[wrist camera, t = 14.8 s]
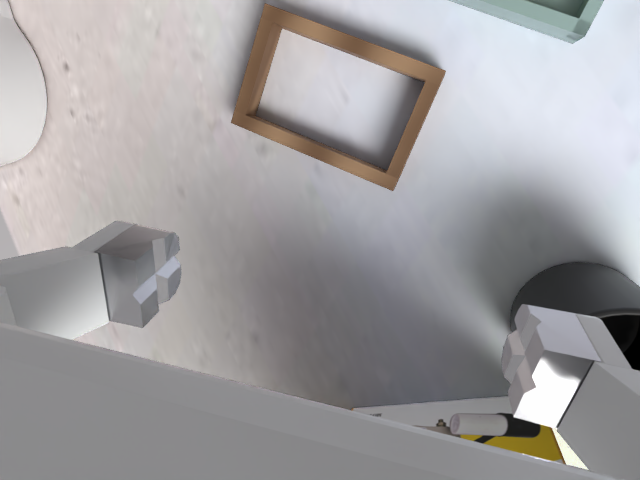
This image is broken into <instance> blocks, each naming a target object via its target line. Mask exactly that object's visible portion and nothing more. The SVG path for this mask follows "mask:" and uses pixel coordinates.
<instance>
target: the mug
mask: <svg viewBox="0 0 640 480" xmlns="http://www.w3.org/2000/svg"><path fill="white" fill-rule="evenodd" d="M522 304H524V305H531V306H537V307H542V308H548V309H553V310H559V311H565V312H570V313H575V314H581V315H588V316H594V317H597V318H599V319H601V320H602V321H603V323H604V325H605V326H606V328H607V329H608V331H609V333H610V334H611V336H612V337H613V339H614V341H615V342H616V344H617V345H618V347H619V349H620V350H621V352H622V353H623V355H624V357H625V358H626V360H627V361H628V363H629V365H630V366H631V368H632V369H634V370H638V371H640V287H639V286H638V285H636V284H635V283H634V282H633V281H631V280H630V279H629V278H627V277H626V276H625V275H623V274H622V273H620V272H618V271H616V270H614V269H612V268H609V267H607V266H603V265H600V264H594V263H585V262H575V263H567V264H562V265H558V266H555V267H552V268H550V269H547V270H545V271H543V272H541V273H540V274H538V275H536V276H535V277H534V278H532V279H531V280H530V281H529V282H528V283H526V285H525V286H524V287H523V288H522V289H521V290H520V292H519V293H518V295H517V297H516V299H515V301H514V303H513V306H512V310H511V317H510V324H511V330H512V332H514V331H515V330H517V327H516V324H515V320H514V319H515V316H516V314H517V311H518V309H519V308H520V307H521V305H522Z"/></svg>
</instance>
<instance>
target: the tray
mask: <svg viewBox="0 0 640 480" xmlns="http://www.w3.org/2000/svg"><path fill="white" fill-rule="evenodd" d="M449 1H452V2H455V3H458V4H461V5H464V6H466V7H469V8H472V9H475V10H478V11H481V12H484V13H486V14H489V15H492V16H495V17H498V18H501V19H504V20H506V21H509V22H512V23H515V24H518V25H521V26H524V27H526V28H529V29H532V30H535V31H538V32H541V33H544V34H546V35H549V36H552V37H555V38H558V39H561V40H564V41H566V42H569V43H572V44H573V43H575V42H576V41H578V40H580V39H582V38H583V37H585V35H586V33H587V31H588V30H589V28H590V26H591V24H592V22H593V20H594V18H595V16H596V15H597V13H598V11H599V9H600V7H601V5H602V3H603V1H604V0H449Z"/></svg>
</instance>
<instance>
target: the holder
mask: <svg viewBox="0 0 640 480" xmlns="http://www.w3.org/2000/svg"><path fill="white" fill-rule="evenodd" d="M282 28H283V29H285V30H288V31H291V32H293V33H296V34H299V35H301V36H304V37H306V38H309V39H312V40H314V41H317V42H320V43H322V44H325V45H327V46H330V47H333V48H335V49H338V50H341V51H343V52H346V53H349V54H351V55H354V56H356V57H359V58H362V59H364V60H367V61H370V62H372V63H375V64H377V65H380V66H383V67H385V68H388V69H391V70H393V71H396V72H398V73H401V74H404V75H406V76H409V77H412V78H414V79H417V80H419V81H422V82H425V84H424V86H423V88H422V91H421V93H420V95H419V98H418V100H417V102H416V105H415V107H414V109H413V112H412V114H411V116H410V119H409V121H408V123H407V126H406V128H405V130H404V133H403V135H402V137H401V140H400V142H399V144H398V147H397V149H396V151H395V154H394V156H393V158H392V161H391V163H390V165H389V168H388V170H385V169H382V168H380V167H378V166H375V165H373V164H370V163H368V162H366V161H363V160H361V159H358V158H356V157H353V156H351V155H349V154H346V153H344V152H341V151H339V150H337V149H334V148H332V147H329V146H327V145H325V144H322V143H320V142H317V141H315V140H313V139H310V138H308V137H305V136H303V135H301V134H298V133H296V132H293V131H291V130H289V129H286V128H284V127H281V126H279V125H276V124H274V123H272V122H269V121H267V120H264V119H262V118H260V117H257V116H256V112H257V109H258V106H259V103H260V99H261V96H262V93H263V89H264V86H265V83H266V79H267V76H268V73H269V70H270V66H271V63H272V60H273V56H274V53H275V50H276V47H277V43H278V40H279V37H280V33H281V30H282ZM445 72H446V71H445V70H442V69H439V68H437V67H434V66H431V65H429V64H426V63H423V62H421V61H418V60H415V59H413V58H410V57H407V56H405V55H402V54H399V53H397V52H394V51H391V50H389V49H386V48H383V47H381V46H378V45H375V44H373V43H370V42H367V41H365V40H362V39H359V38H357V37H354V36H351V35H348V34H346V33H343V32H340V31H338V30H335V29H332V28H330V27H327V26H324V25H322V24H319V23H316V22H314V21H311V20H308V19H306V18H303V17H300V16H298V15H295V14H292V13H290V12H287V11H284V10H282V9H279V8H276V7H274V6H271V5H268V4H266V3H265V5H264V9H263V12H262V16H261V19H260V23H259V26H258V30H257V33H256V37H255V40H254V44H253V47H252V51H251V54H250V58H249V61H248V65H247V68H246V72H245V75H244V79H243V82H242V86H241V89H240V93H239V96H238V100H237V103H236V107H235V110H234V114H233V117H232V121H231V123H233V124H235V125H237V126H240V127H242V128H245V129H247V130H249V131H252V132H254V133H256V134H259V135H261V136H264V137H266V138H268V139H271V140H273V141H275V142H278V143H280V144H282V145H285V146H287V147H290V148H292V149H294V150H297V151H299V152H301V153H304V154H306V155H309V156H311V157H313V158H316V159H318V160H320V161H323V162H325V163H328V164H330V165H332V166H335V167H337V168H339V169H342V170H344V171H346V172H349V173H351V174H354V175H356V176H358V177H361V178H363V179H365V180H368V181H370V182H373V183H375V184H377V185H380V186H382V187H384V188H387V189H389V190H392V191H393V190H394V188H395V187H396V184H397V182H398V180H399V178H400V175H401V173H402V171H403V168H404V166H405V164H406V162H407V159H408V157H409V155H410V153H411V150H412V148H413V146H414V144H415V141H416V139H417V137H418V134H419V132H420V130H421V128H422V125H423V123H424V121H425V119H426V116H427V114H428V112H429V109H430V107H431V105H432V103H433V100H434V98H435V96H436V94H437V91H438V89H439V87H440V85H441V82H442V80H443V78H444V75H445Z"/></svg>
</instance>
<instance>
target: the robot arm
mask: <svg viewBox="0 0 640 480" xmlns="http://www.w3.org/2000/svg"><path fill="white" fill-rule="evenodd" d="M46 112H47V95H46V87H45V81H44V77H43V73H42V70H41V67H40V64H39V61H38V59H37V57H36V55H35V53H34V51H33V49H32V47H31V45H30V44H29V42H28V40H27V39H26V38H25V36H24V35H23V33H22V32H21V31H20V29H19V28H18V26H17V24H16V23H15V21H14V18H13V15H12V12H11V9H10V6H9V3H8V0H0V166H2V165H5V164H9V163H12V162H15V161H18V160H20V159H22V158H23V157H25V156H26V155H27V154H28V153H29V152H30V151H31V150H32V149H33V148H34V147H35V145H36V144H37V142H38V140H39V138H40V136H41V134H42V131H43V128H44V124H45V119H46ZM179 250H180V245H179V237H178V236H177V235H176V233H174V232H169V231H165V230H160V229H156V228H151V227H147V226H143V225H137V224H135V223H129V222H123V221H114V222H113V223H111V224H110V225H108V226H106V227H105V228H103V229H101V230H100V231H98V232H96V233H95V234H93V235H92V236H90V237H88V238H87V239H85V240H83V241H82V242H80V243H78V244H77V245H75V246H74V247H72V248H71V247H66V246H65V247H61V248H56V249H51V250H46V251H41V252H37V253H32V254H27V255H22V256H18V257H13V258H8V259H3V260H0V480H640V371H638V370H634V369H632V368H631V366H630V365H629V363H628V361H627V360H626V358H625V357H624V355H623V353H622V352H621V350H620V349H619V347H618V345H617V344H616V342H615V341H614V339H613V337H612V336H611V334H610V333H609V331H608V329H607V328H606V326H605V325H604V323H603V321H602V320H601V319H599V318H597V317H594V316H588V315H581V314H575V313H570V312H565V311H559V310H553V309H548V308H542V307H537V306H531V305H524V304H522V305H521V307H520V308H519V309H518V311H517V314H516V316H515V319H514V320H515V324H516V327H517V330H515V331H514V332H512V333H511V334H509V335H508V336H507V339H506V342H505V344H504V347H503V353H502V371H503V375H504V377H505V378H506V380H507V381H508V382H509V383H510V384H511V385H510V388H509V390H508V392H507V393H508V397H509V401H510V405H511V409H512V413H513V417H515V418H518V419H522V420H526V421H530V422H533V423H537V424H541V425H544V426H548V427H552V428H556V429H557V432H558V433H559V434H560V435H561V437H562V438H563V439H564V440H565V441H566V443H567V444H568V445H569V446H570V447H571V449H572V450H573V451H574V452H575V453H576V455H577V456H578V457H579V458H580V460H581V461H582V462H583V463H584V464H585V466H586V467H587V468H588V469H589V470H586V469H582V468H578V467H574V466H570V465H566V464H562V463H558V462H554V461H550V460H546V459H542V458H538V457H534V456H530V455H526V454H522V453H518V452H514V451H510V450H506V449H502V448H498V447H494V446H491V445H487V444H483V443H479V442H475V441H471V440H467V439H463V438H459V437H455V436H451V435H447V434H443V433H439V432H435V431H431V430H427V429H423V428H419V427H415V426H411V425H407V424H403V423H399V422H395V421H391V420H387V419H383V418H379V417H375V416H371V415H367V414H363V413H359V412H355V411H351V410H348V409H344V408H340V407H336V406H332V405H328V404H324V403H320V402H316V401H312V400H308V399H304V398H300V397H296V396H292V395H288V394H284V393H280V392H276V391H272V390H268V389H264V388H260V387H256V386H252V385H248V384H244V383H240V382H237V381H233V380H229V379H225V378H221V377H217V376H213V375H209V374H205V373H201V372H197V371H193V370H189V369H185V368H181V367H177V366H173V365H169V364H165V363H161V362H157V361H153V360H149V359H145V358H141V357H137V356H133V355H130V354H126V353H122V352H118V351H114V350H110V349H106V348H102V347H98V346H94V345H90V344H86V343H82V342H78V341H74V340H73V339H75V338H77V337H80V336H82V335H84V334H86V333H88V332H90V331H92V330H94V329H97V328H99V327H101V326H103V325H105V324H107V323H109V321H113V322H117V323H122V324H127V325H132V326H136V327H141V328H143V327H144V326H145V325H146V324H147V323H148V322H149V321H150V320H151V319H152V318H153V317H154V316H155V315H156V314H157V313H158V311H159V306H158V304H160V303H163V302H166V301H168V300H170V299H171V297H172V296H173V295H174V294H175V293H176V290H177V288H178V286H179V284H180V279H181V265H180V263H179V262H178V260H177V259H176V257H175V255H176V254H177V253H178V251H179Z"/></svg>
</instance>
